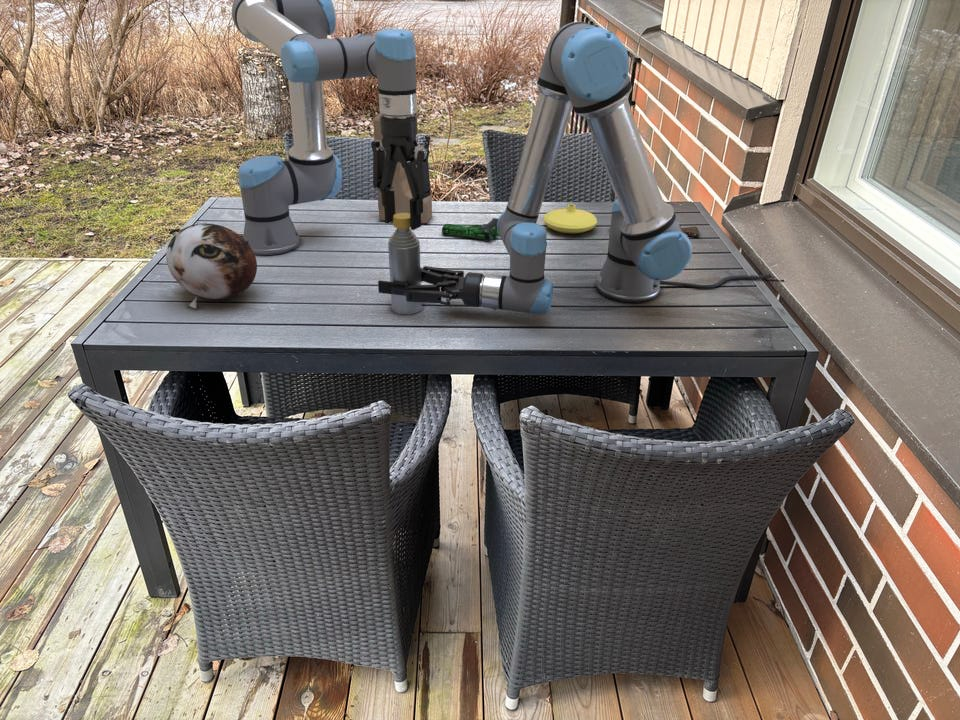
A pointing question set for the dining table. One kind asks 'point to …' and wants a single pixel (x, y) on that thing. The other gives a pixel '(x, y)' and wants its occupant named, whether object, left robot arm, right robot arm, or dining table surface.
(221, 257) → the cat face ball
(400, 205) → the decorative block
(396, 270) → the bottle
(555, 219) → the yellow pot lid
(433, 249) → the dining table surface
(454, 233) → the handgun
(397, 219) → the cap
